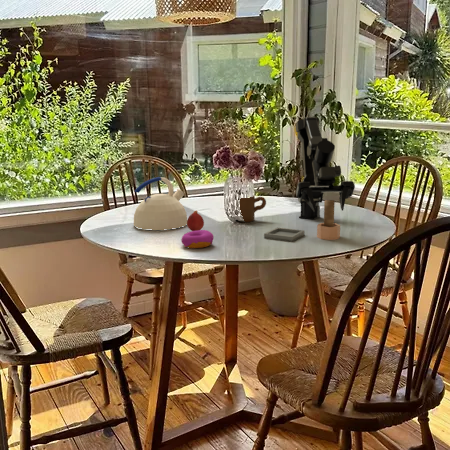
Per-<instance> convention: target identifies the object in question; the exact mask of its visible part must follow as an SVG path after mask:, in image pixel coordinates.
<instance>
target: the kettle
mask: <svg viewBox="0 0 450 450" xmlns="http://www.w3.org/2000/svg"><path fill="white" fill-rule="evenodd" d="M159 181H161V182H162V181H163V182H164V183H165V184H166V185H167V189H168V193H167V194H166V193H156V194H151V195H149V196H147V197H145V198H144V199H143V200H142V201H141V202H140V203H139V204H138V205H137V207H136V208H135V211H134V214H133V225H134V226H136V227H138V228H142V229H152V230H164V229H172V228H179V227H182V226H185V225H186V224H187V220H188V217H187V216H188V213H187V210H186V209H185V206H184V205H183V204H182V202H180V201H181V199H182V197H183V196H185V193H184V191H182V190H181V189H179V188H178V189H176V191H175V189H174V186H173V183H171V182H172V181H170V180H169V179H168V178H167V177H163V176H162V177H161V176H157V177H153V178H151V179H148V180H146V181H144V182H143V183H141V184H140V185H138V186H137V187H136V188H135V190H134V191H133V192H135V193H140V192H141V191H142V190H143V189H144V188H145V187H147V186H149V185H150V184H153V183H155V182H159ZM174 191H175V192H174ZM134 226H133V227H134ZM185 227H186V226H185Z"/></svg>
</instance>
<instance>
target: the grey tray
mask: <svg viewBox="0 0 450 450" xmlns="http://www.w3.org/2000/svg"><path fill="white" fill-rule="evenodd" d="M304 236H305V230H303V229H294V228H285V227H275V228H273V229H271V230H269V231H267V232H265V233H263V238H264V239H267V240H275V241H284V242H291V243H292V242H295V241H297V240H298V239H300V238H302V237H304Z"/></svg>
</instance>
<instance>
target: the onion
mask: <svg viewBox="0 0 450 450" xmlns="http://www.w3.org/2000/svg"><path fill="white" fill-rule="evenodd" d="M204 225H205V221H204V218H203V216H202V215H201V214H200V213H198V210H194V211H193V212H192V213H190V215H189V216H188V217H187V228H188V229H189V230H190V232H191V231H198V230H203V228H204Z"/></svg>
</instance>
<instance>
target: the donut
mask: <svg viewBox="0 0 450 450" xmlns="http://www.w3.org/2000/svg"><path fill="white" fill-rule="evenodd" d="M214 237H215V236H214V234H213V233H212V232H211V231H209V230H205V229H201V230H198V231H191V230H190V231H188V232H187V233H184V234H182V237H181V239H180V240H181V243H182V244H183V246H184V247H185V248H186V247H189V248H188V249H201V248H206V247H209V246H211V245H212V244H213V240H214Z"/></svg>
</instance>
